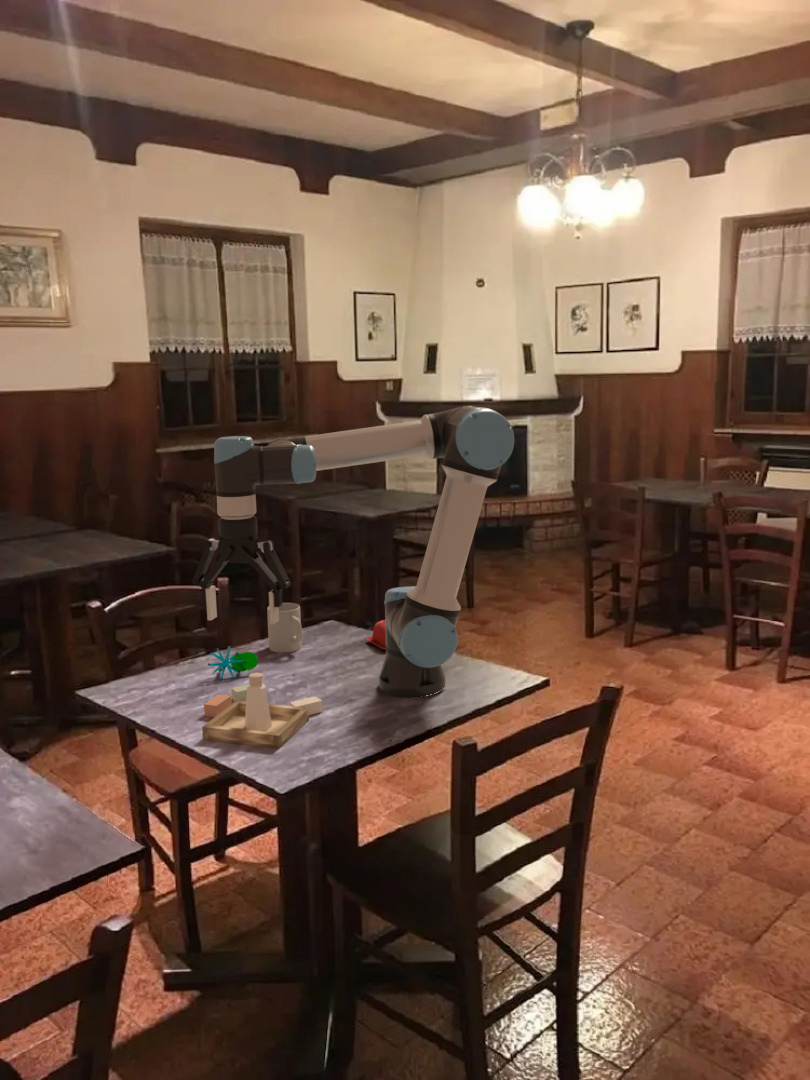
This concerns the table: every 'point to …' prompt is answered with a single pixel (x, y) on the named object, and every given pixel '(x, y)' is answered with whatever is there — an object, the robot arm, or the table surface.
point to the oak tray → (234, 731)
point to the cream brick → (309, 704)
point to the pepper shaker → (257, 704)
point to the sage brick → (239, 693)
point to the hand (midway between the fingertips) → (243, 620)
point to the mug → (285, 629)
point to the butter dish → (379, 635)
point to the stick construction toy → (235, 662)
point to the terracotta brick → (217, 705)
